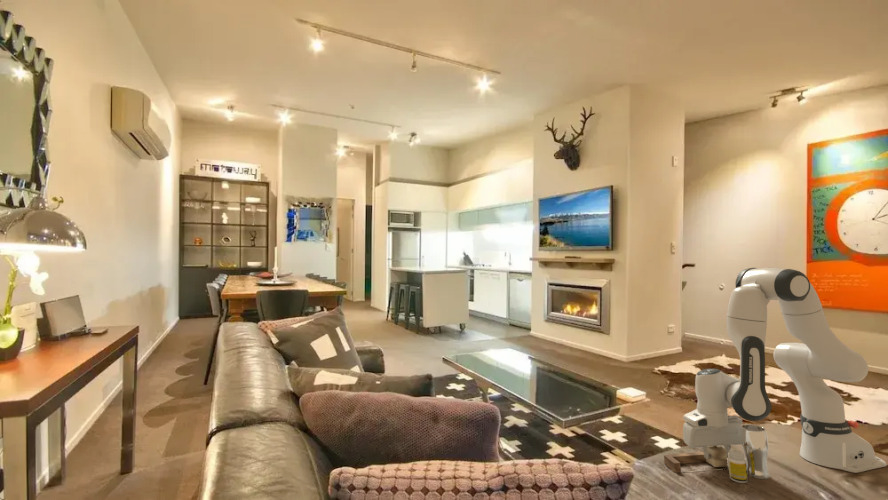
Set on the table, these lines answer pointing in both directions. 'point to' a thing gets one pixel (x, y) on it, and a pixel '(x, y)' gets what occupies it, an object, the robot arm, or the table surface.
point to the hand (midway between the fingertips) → (716, 457)
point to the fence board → (684, 460)
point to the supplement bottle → (737, 466)
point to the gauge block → (717, 456)
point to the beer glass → (755, 450)
